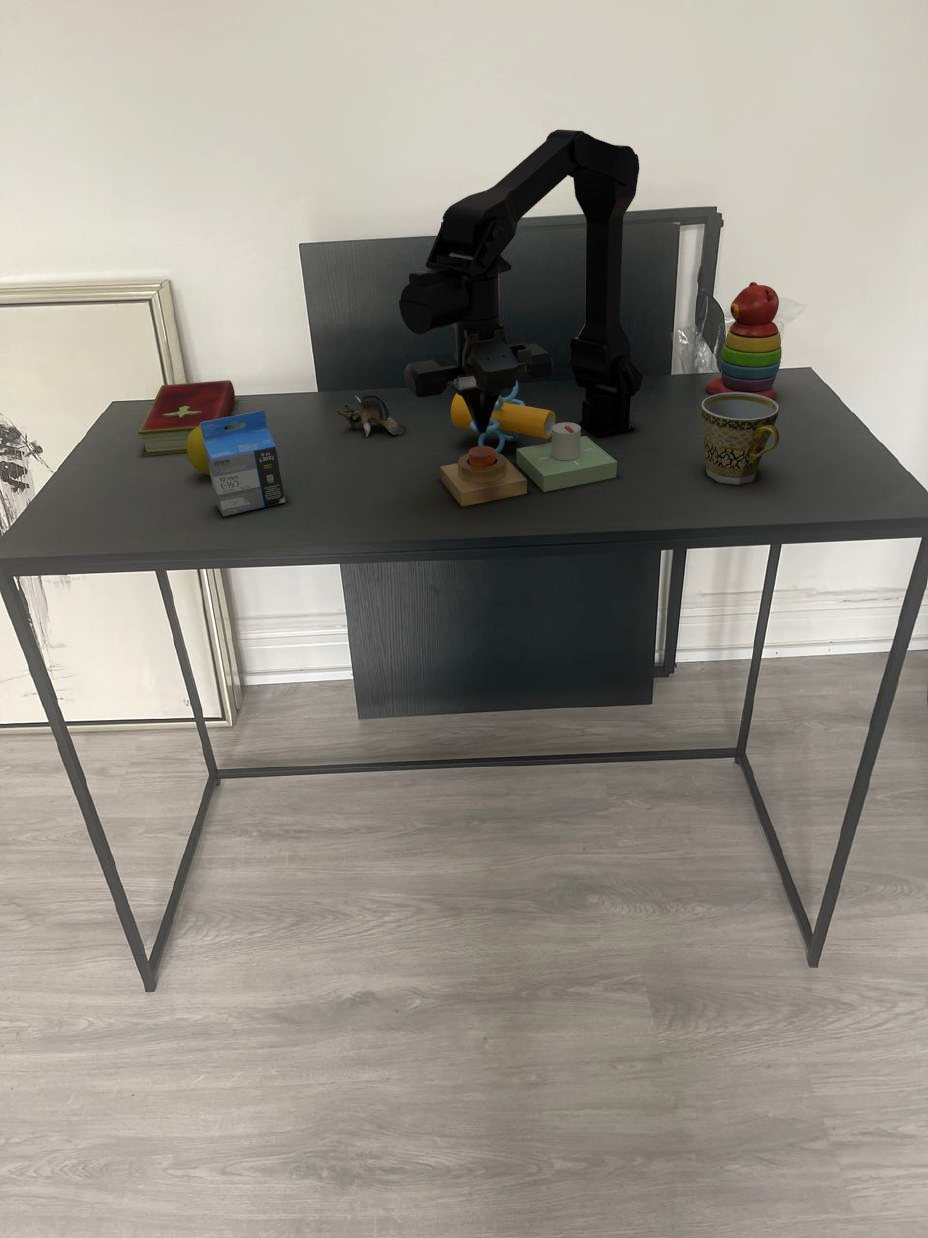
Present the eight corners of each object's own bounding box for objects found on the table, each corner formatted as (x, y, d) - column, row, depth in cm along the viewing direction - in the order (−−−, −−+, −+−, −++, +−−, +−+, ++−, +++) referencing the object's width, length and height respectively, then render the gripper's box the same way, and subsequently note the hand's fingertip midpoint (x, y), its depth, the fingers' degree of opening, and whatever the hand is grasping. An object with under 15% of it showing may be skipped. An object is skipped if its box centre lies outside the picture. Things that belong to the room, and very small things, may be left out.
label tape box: (222, 518, 122) (203, 431, 115) (216, 506, 125) (198, 421, 118) (286, 503, 125) (272, 418, 118) (279, 492, 128) (264, 408, 121)
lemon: (198, 487, 130) (186, 435, 126) (189, 473, 134) (177, 422, 130) (236, 478, 132) (225, 426, 128) (226, 465, 136) (215, 414, 132)
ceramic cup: (680, 468, 129) (686, 400, 123) (738, 453, 132) (747, 386, 126) (737, 505, 119) (747, 433, 113) (799, 488, 122) (811, 417, 116)
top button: (489, 455, 126) (489, 443, 125) (499, 465, 123) (499, 453, 122) (465, 460, 125) (465, 448, 124) (474, 470, 122) (473, 458, 121)
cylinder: (440, 455, 136) (529, 475, 129) (436, 388, 130) (529, 405, 123) (481, 426, 144) (566, 443, 138) (479, 361, 138) (568, 376, 132)
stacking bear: (702, 387, 154) (714, 279, 144) (760, 382, 155) (776, 274, 145) (724, 410, 145) (738, 296, 135) (786, 405, 146) (804, 291, 136)
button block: (503, 468, 131) (502, 442, 129) (527, 494, 124) (527, 467, 122) (440, 480, 129) (439, 454, 126) (461, 507, 122) (460, 479, 119)
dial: (547, 451, 129) (547, 422, 127) (572, 446, 130) (573, 418, 128) (558, 462, 126) (558, 433, 124) (584, 457, 127) (585, 428, 124)
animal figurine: (336, 435, 141) (389, 428, 138) (334, 389, 141) (387, 381, 138) (358, 444, 148) (409, 437, 145) (356, 400, 148) (407, 393, 145)
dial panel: (585, 451, 135) (585, 434, 133) (616, 477, 127) (617, 460, 125) (516, 464, 132) (516, 447, 130) (543, 492, 124) (543, 474, 123)
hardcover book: (236, 401, 159) (232, 378, 156) (222, 449, 141) (217, 423, 139) (166, 407, 158) (161, 383, 156) (144, 455, 141) (137, 430, 138)
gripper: (424, 343, 104) (433, 467, 113) (573, 320, 109) (570, 442, 118) (398, 318, 113) (408, 435, 122) (536, 298, 118) (536, 413, 127)
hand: (481, 432), depth 122 cm, fingers closed
